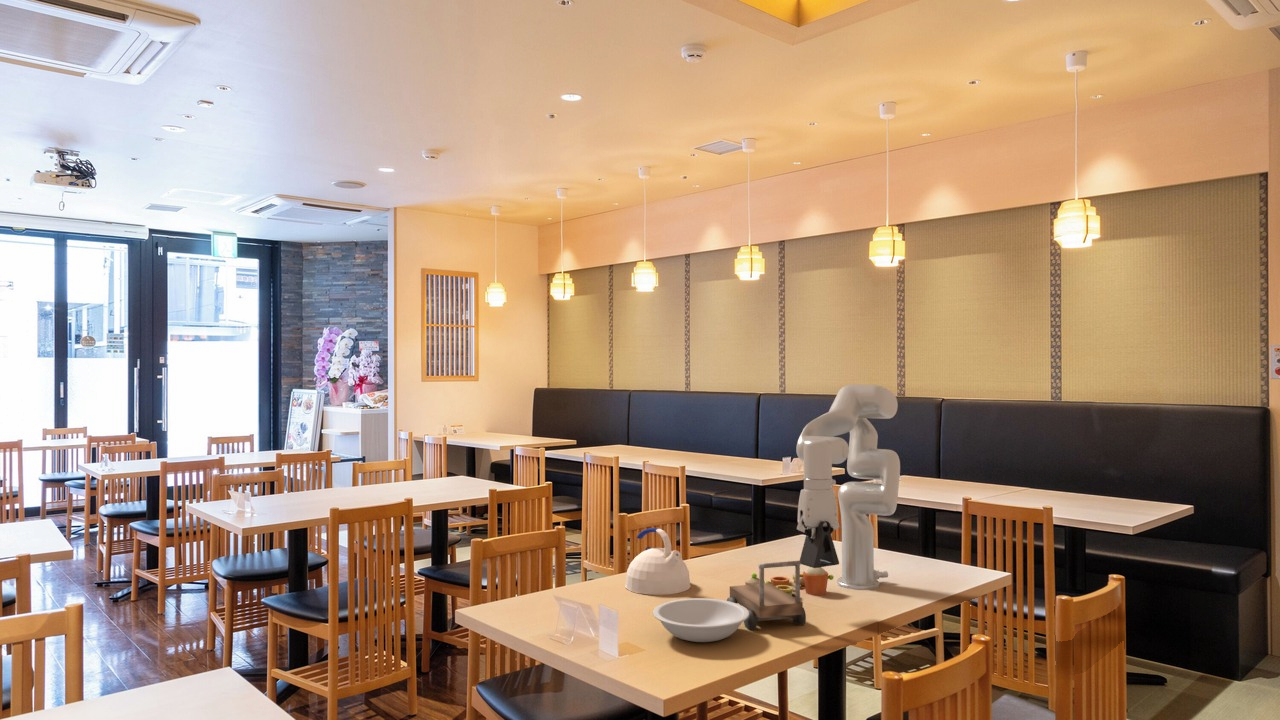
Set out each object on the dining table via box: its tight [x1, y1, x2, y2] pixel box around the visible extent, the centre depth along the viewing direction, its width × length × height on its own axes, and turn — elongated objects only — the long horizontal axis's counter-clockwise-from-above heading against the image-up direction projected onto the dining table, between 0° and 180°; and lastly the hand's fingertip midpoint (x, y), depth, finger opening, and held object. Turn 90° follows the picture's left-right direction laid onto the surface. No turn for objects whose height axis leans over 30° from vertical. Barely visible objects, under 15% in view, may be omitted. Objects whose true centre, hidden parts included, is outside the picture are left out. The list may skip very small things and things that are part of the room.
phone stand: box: [799, 521, 840, 568], centre depth 226 cm, size 9×6×12 cm, turn 118°
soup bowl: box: [652, 597, 749, 643], centre depth 208 cm, size 24×24×7 cm
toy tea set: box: [744, 566, 834, 598], centre depth 247 cm, size 26×16×10 cm, turn 119°
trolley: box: [726, 560, 807, 631], centre depth 221 cm, size 15×20×18 cm
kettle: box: [625, 527, 692, 596], centre depth 256 cm, size 20×21×18 cm
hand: (818, 551), depth 226 cm, fingers closed on phone stand, 2 cm apart
